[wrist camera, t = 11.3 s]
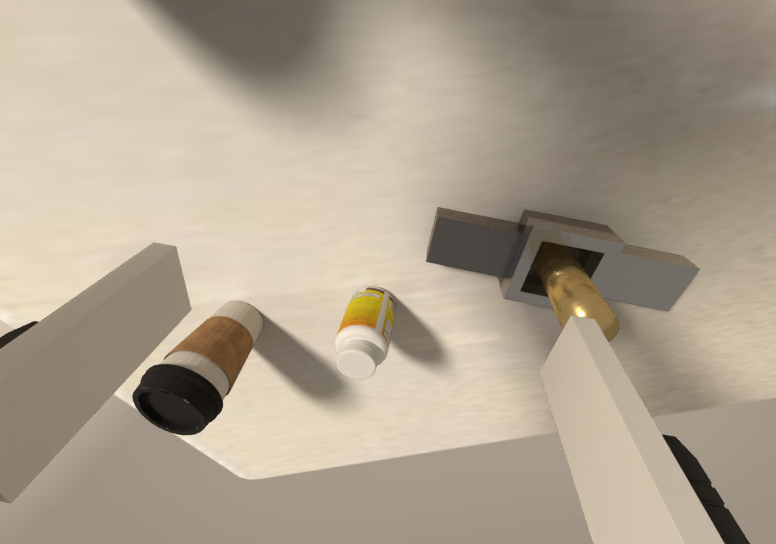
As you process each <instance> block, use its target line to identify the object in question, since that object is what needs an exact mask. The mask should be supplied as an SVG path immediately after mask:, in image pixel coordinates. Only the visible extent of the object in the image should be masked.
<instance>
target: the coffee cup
mask: <svg viewBox="0 0 776 544" xmlns="http://www.w3.org/2000/svg"><path fill="white" fill-rule="evenodd" d="M262 328H263V318H262V316H261V315H260V313H259V312H258V311H257V310H256V309H255V308H254V307H253V306H251V305H249V304H248V303H245V302H242V301H230V302H227V303H225V304H224V305H223V306H222V307H221V308H220V309H219V310H217V311H216V312H215V313H214V314H213V315H212V316H211V317H210V318H209V319H207V320H206V321H205V322H204V323H203V324H201V325H200V326H199V327H198V328H197V329H196V330H195V331H193V332H192V333H191V334H190V335H189V336H188V337H187V338H185V339H184V340H183V341H182V342H181V343H180V344H179V345H177V346H176V347H175V348H174V349H173V350H172V351H171V352H169V353H168V354H167V355H166V356H165V358H164V360H163V361H162V362H161V363H160V364H158V365H154V366H152V367H150V368H149V369H148V370H147V371H146V373H145V374H144V375H143V376H142V379H141V383H140V384H139V386H138V387H137V388H136V390H135V391H134V392H133V396H132V397H133V402H134V404H135V406H136V408H137V409H138V411H139V412H140V413H141V414H142V415H143V416H144V417H145V418H146V419H147V420H148V421H150V422H151V423H152V424H154V425H156V426H157V427H159V428H161V429H163V430H165V431H168V432H171V433H174V434H179V435H194V434H197V433H199V432H201V431H202V430H203V429H204V428H205V427H206V426H207V425H208V423H209V422H212V421H213V420H214V419H215V418H216V417H217V415H218V414H220V412H221V411H222V408H223V399H224V398H225V396H227V395H228V394H229V392H230V391H231V389H232V387H233V385H234V383H235V381H236V379H237V377H238V375H239V373H240V371H241V369H242V367H243V365H244V363H245V361H246V359H247V357H248V355H249V353H250V352H251V350H252V347H253V345H254V343H255V341H256V340H257V338H258V336H259V334H260V332H261V331H262Z"/></svg>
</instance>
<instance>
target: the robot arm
mask: <svg viewBox="0 0 776 544" xmlns="http://www.w3.org/2000/svg"><path fill="white" fill-rule="evenodd" d="M190 311H191V306H190V302H189V297H188V293H187V289H186V285H185V281H184V277H183V273H182V269H181V265H180V261H179V257H178V253H177V249H176V246H171V245H165V244H159V243H152V244H151V245H149V246H148V247H146V248H145V249H144V250H142V251H141V252H139V253H138V254H136V255H135V256H133V257H132V258H131V259H129V260H128V261H126V262H125V263H123V264H122V265H120V266H119V267H118V268H116V269H115V270H113V271H112V272H110V273H109V274H108V275H106V276H105V277H103V278H102V279H100V280H99V281H97V282H96V283H95V284H93V285H92V286H90V287H89V288H87V289H86V290H85V291H83V292H82V293H80V294H79V295H77V296H76V297H74V298H73V299H72V300H70V301H69V302H67V303H66V304H64V305H63V306H61V307H60V308H59V309H57V310H56V311H54V312H53V313H51V314H50V315H49V316H47V317H46V318H44V319H43V320H41V321H40V322H37V321H34V322H31V323H29V324H27V325H24V326H22V327H20V328H18V329H15V330H13V331H11V332H9V333H7V334H5V335H4V336H2V337H1V338H0V501H2V502H7V503H12V502H13V501H14V500H15V499H16V498H17V497H18V496H19V495H20V493H21V492H22V491H23V490H24V489H25V488H26V487H27V486H28V485H29V484H30V483H31V482H32V480H34V478H35V477H36V476H37V475H38V474H39V473H40V472H41V471H42V470H43V469H44V467H46V466H47V464H48V463H49V462H50V461H51V460H52V459H53V458H54V457H55V456H56V455H57V454H58V453H59V452H60V450H61V449H62V448H63V447H64V446H65V445H66V444H67V443H68V442H69V441H70V439H72V438H73V437H74V435H75V434H76V433H77V432H78V431H79V430H80V429H81V428H82V427H83V426H84V425H85V424H86V422H87V421H88V420H89V419H90V418H91V417H92V416H93V415H94V414H95V413H96V412H97V411H98V410H99V409H100V408H101V406H102V405H103V404H104V403H105V402H106V401H107V400H108V399H109V398H110V396H112V395H113V394H114V392H115V391H116V390H117V389H118V388H119V387H120V386H121V385H122V384H123V383H124V382H125V381H126V380H127V378H128V377H129V376H130V375H131V374H132V373H133V372H134V371H135V370H136V369H137V368H138V367H139V366H140V365H141V363H142V362H143V361H144V360H145V359H146V358H147V357H148V356H149V355H150V354H151V353H152V352H153V351H154V349H155V348H156V347H157V346H158V345H159V344H160V343H161V342H162V341H163V340H164V339H165V338H166V337H167V335H168V334H169V333H170V332H171V331H172V330H173V329H174V328H175V327H176V326H177V325H178V324H179V323H180V321H181V320H182V319H183V318H184V317H185V316H186V315H187V314H188V313H189V312H190ZM540 375H541V378H542V382H543V385H544V388H545V391H546V394H547V398H548V401H549V404H550V407H551V410H552V413H553V417H554V420H555V423H556V426H557V429H558V433H559V436H560V439H561V442H562V445H563V448H564V452H565V455H566V458H567V461H568V464H569V468H570V471H571V474H572V477H573V480H574V483H575V487H576V490H577V492H578V496H579V499H580V502H581V506H582V509H583V512H584V515H585V518H586V522H587V525H588V528H589V531H590V534H591V538H592V541H593V544H750V543H749V542H748V540H747V539H746V537H745V535H744V534H743V532H742V530H741V529H740V527H739V526H738V524H737V523H736V521H735V519H734V518H733V516H732V515H731V513H730V512H729V510H728V509H726V508H725V507H724V502H723V500H722V499H721V497H720V495H719V494H718V492H717V491H716V489H715V488H713V487H712V486H711V481H710V480H709V478H708V476H707V475H706V473H705V472H704V470H703V468H702V467H701V466H700V464H699V462H698V460H697V459H696V458H695V457H694V456H693V455H692V454H691V453H690V452H689V451H688V450H687V448H686V447H685V446H684V445H682V443H681V442H680V441H679V440H678V439H677V438H676V437H673V436H668V435H663V434H661V433H660V431H659V429H658V428H657V426H656V424H655V422H654V421H653V419H652V417H651V415H650V414H649V412H648V410H647V409H646V407H645V405H644V403H643V402H642V400H641V398H640V396H639V395H638V393H637V391H636V389H635V388H634V386H633V384H632V383H631V381H630V379H629V377H628V376H627V374H626V372H625V370H624V369H623V367H622V365H621V363H620V362H619V360H618V358H617V357H616V355H615V353H614V351H613V350H612V348H611V346H610V344H609V343H608V341H607V339H606V338H605V336H604V334H603V332H602V331H601V329H600V327H599V325H598V324H597V322H596V320H595V319H590V318H585V317H579V316H573V315H571V316H570V318H569V320H568V322H567V323H566V325H565V327H564V329H563V331H562V332H561V334H560V336H559V338H558V340H557V341H556V343H555V345H554V347H553V349H552V350H551V352H550V354H549V356H548V358H547V359H546V361H545V363H544V365H543V366H542V368H541V370H540Z"/></svg>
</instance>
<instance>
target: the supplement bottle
mask: <svg viewBox="0 0 776 544" xmlns="http://www.w3.org/2000/svg"><path fill="white" fill-rule="evenodd" d="M394 315H395V302H394V299H393V298H392V296H391V295H390V294H389V293H388V292H387V291H385V290H384V289H382V288H379V287H375V286H366V287H363V288H360V289H358V290H357V291H356V292H355V293H354V294H353V295H352V297H351V299H350V302H349V305H348V307H347V310H346V312H345V315H344V318H343V320H342V323H341V326H340V328H339V331H338V334H337V336H336V339H335V350H336V352H337V354H338V356H337V360H336V364H337V367H338V369H339V370H340V372H341V373H343V374H344V375H345V376H347V377H349V378H352V379H358V380H362V379H367V378H369V377H371V376H372V375H373V374H374V373H375V371H376V367H377V365H379V364H381V363H382V362H383V361H384V360H385V358H386V356H387V353H388V348H389V343H390V337H391V332H392V326H393V320H394Z"/></svg>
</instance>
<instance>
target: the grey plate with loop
mask: <svg viewBox="0 0 776 544" xmlns="http://www.w3.org/2000/svg"><path fill="white" fill-rule="evenodd" d="M542 241H546V242H551V243H556V244H561V245H566V246H571V247H576V248H581V251H580V253H579V255H578V256H577V258H576V259H577V260H578V262H579V263H580V265H581V266H582V268H583V269H584V270H585V272H586V273H587V275H588V276H589V278H590V279H591V281H592V282H593V284H594V285H595V287H596V288H597V290H598V291H599V293H600V294H601V296H602V297H603V298H606V299H610V300H615V301H620V302H625V303H630V304H635V305H640V306H645V307H649V308H654V309H659V310H664V311H669V310H670V308H671V307H672V306H673V304H674V303H675V302H676V300H677V299H678V298H679V296H680V295H681V294H682V292H683V291H684V290H685V288H686V287H687V286H688V284H689V283H690V282H691V280H692V279H693V278H694V276H695V275H696V274H697V272H698V271H699V270H700V269H699V268H698V267H697V266H695V265H694V264H693V263H692V262H690V261H689V260H688V259H687V258H685V257H684V256H680V255H675V254H670V253H665V252H660V251H655V250H650V249H645V248H640V247H635V246H630V245H625V243H624V242H623V241H622V240H621V239H620V238H619V237H618V236H617V235H616V234H615V233H614V232H613V231H612V230H611V229H610V228H609V227H608V226H606V225H601V224H596V223H591V222H586V221H581V220H576V219H571V218H566V217H560V216H555V215H550V214H545V213H540V212H535V211H530V210H524V213H523V215H522V218H521V220H520V223H515V222H510V221H505V220H499V219H494V218H489V217H484V216H479V215H474V214H469V213H464V212H459V211H454V210H449V209H444V208H439V207H438V208H437V212H436V216H435V220H434V224H433V228H432V233H431V237H430V241H429V245H428V249H427V257H426V262H430V263H435V264H440V265H444V266H449V267H454V268H459V269H464V270H469V271H474V272H479V273H484V274H488V275H493V276H498V278H499V282H500V286H501V290H502V294H503V298H504V299H508V300H513V301H518V302H523V303H528V304H532V305H537V306H542V307H547V308H552V309H554V308H553V306H552V304H551V301H550V299H549V297H548V295H547V292H546V290H545V288H544V286H543V283H542V281H541V279H540V277H539V276H538V275H533V274H528V272H529V270H530V267H531V265H532V263H533V260H534V258H535V256H536V254H537V251H538V249H539V247H540V245H541V242H542Z"/></svg>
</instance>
